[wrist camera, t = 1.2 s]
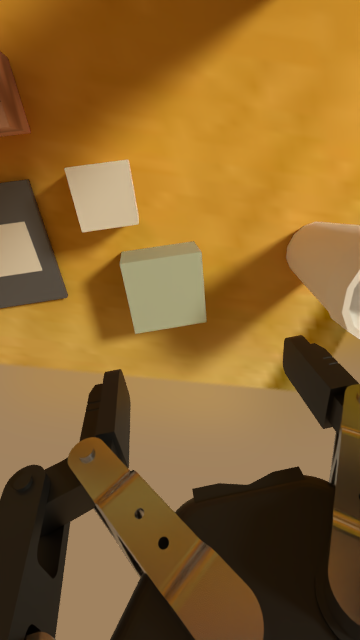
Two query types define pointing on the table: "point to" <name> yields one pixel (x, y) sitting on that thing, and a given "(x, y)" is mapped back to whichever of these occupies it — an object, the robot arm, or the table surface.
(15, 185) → the card
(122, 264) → the green block
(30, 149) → the table surface
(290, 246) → the foam cup
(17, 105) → the terracotta cube
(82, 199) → the cream cube
